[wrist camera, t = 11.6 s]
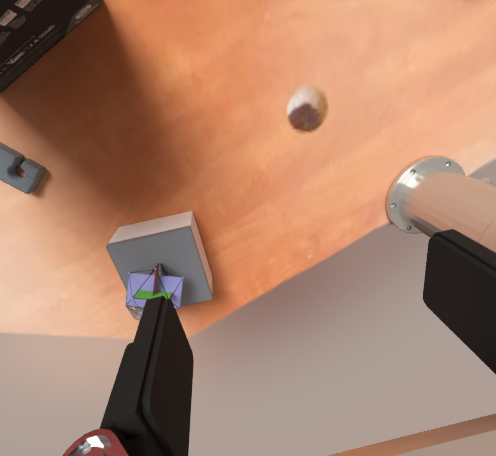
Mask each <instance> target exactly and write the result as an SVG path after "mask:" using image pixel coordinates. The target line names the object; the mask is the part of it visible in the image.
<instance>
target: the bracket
mask: <svg viewBox="0 0 496 456" xmlns="http://www.w3.org/2000/svg"><path fill="white" fill-rule="evenodd" d="M22 159H23V155H22V154H20V153H19V152H17V151H15V150H13V149H11V148H10V147H8V146H6V145H4V144H3V143H1V142H0V180H2V181H4V182H5V183H7V184H9V185H11V186H13V187H15V188H17V189H19V190H21V191H23V192H25V193H26V194H28V193H31V192H33V191H34V190H35V189H36V187H37V185H38V183H39V181H40V179H41V177H42V175H43V173H44V171H45V167H43V166H42V165H40V164H38V163H36V162H35V161H33V160H31V159H28V160H26V161H24V162H23V163H22V165H21V161H22ZM18 165H21V167H20V168H22V169H23V170H24V172H25V174H26V177H22V176H20V175H19V174H18V173H17V171H16V167H17V166H18Z"/></svg>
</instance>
